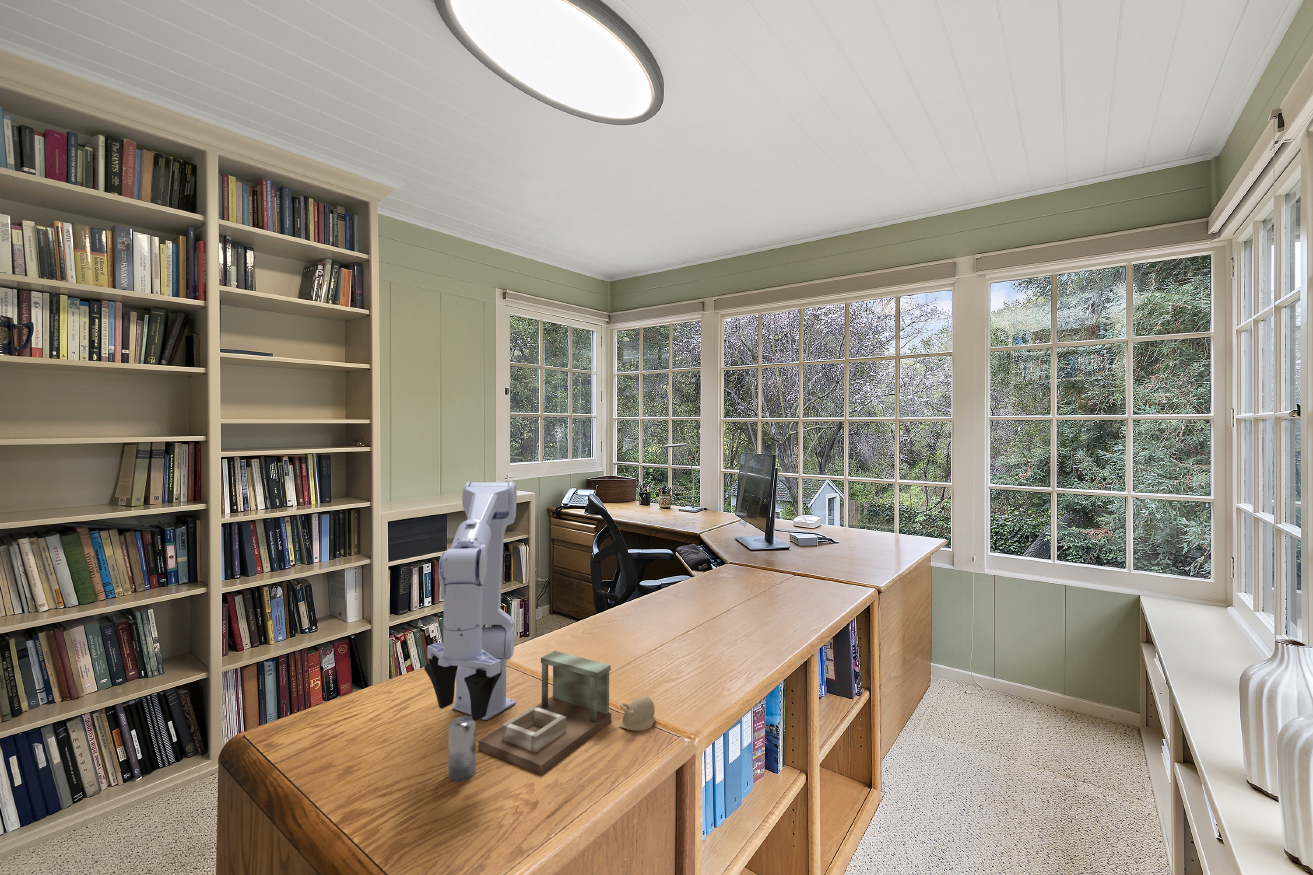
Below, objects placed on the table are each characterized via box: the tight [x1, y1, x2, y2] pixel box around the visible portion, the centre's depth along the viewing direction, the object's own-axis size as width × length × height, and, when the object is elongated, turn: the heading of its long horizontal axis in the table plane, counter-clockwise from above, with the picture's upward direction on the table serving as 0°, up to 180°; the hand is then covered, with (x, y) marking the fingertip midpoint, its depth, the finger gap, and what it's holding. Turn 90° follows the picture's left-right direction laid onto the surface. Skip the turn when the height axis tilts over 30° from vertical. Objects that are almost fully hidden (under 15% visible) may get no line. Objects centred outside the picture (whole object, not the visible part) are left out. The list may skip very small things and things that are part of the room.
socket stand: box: [478, 650, 612, 776], centre depth 97 cm, size 14×19×10 cm
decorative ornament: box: [619, 695, 656, 732], centre depth 100 cm, size 4×8×5 cm, turn 129°
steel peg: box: [447, 715, 477, 782], centre depth 85 cm, size 4×4×8 cm
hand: (462, 711), depth 85 cm, fingers open, 7 cm apart
